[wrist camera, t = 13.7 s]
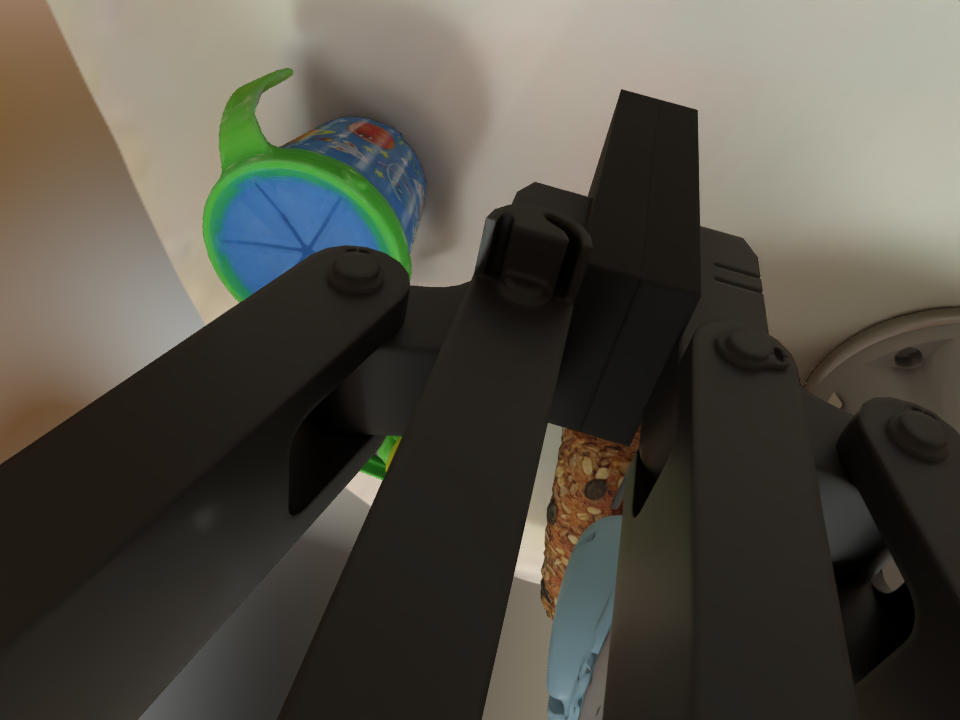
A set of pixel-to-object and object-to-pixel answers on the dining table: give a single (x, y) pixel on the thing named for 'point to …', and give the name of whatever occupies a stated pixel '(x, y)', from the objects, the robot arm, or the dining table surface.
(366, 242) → the snack cup
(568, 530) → the bread
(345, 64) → the dining table surface
